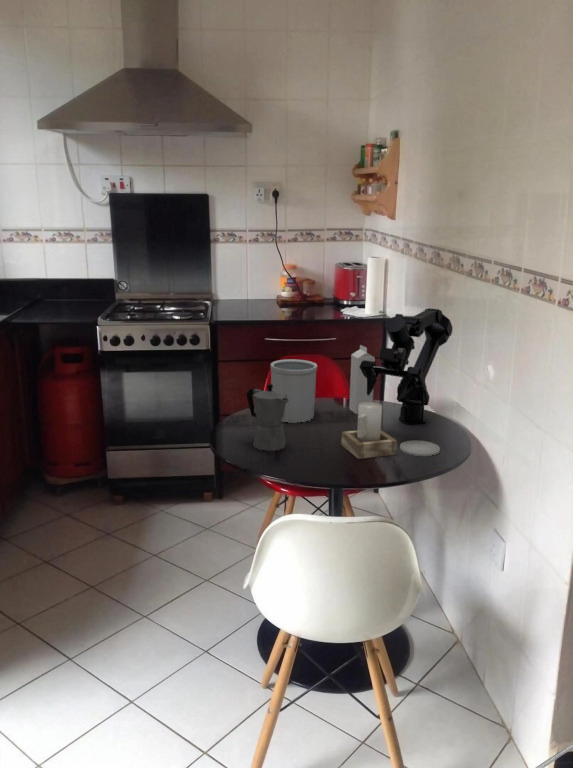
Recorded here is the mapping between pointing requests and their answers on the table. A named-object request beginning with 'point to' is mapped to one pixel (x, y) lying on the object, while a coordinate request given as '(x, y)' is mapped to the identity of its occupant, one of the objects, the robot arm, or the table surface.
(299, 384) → the utensil holder
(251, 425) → the table surface
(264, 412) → the coffeepot
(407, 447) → the mat
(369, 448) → the stand
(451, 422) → the table surface
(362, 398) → the milk
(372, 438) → the jug
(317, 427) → the table surface
